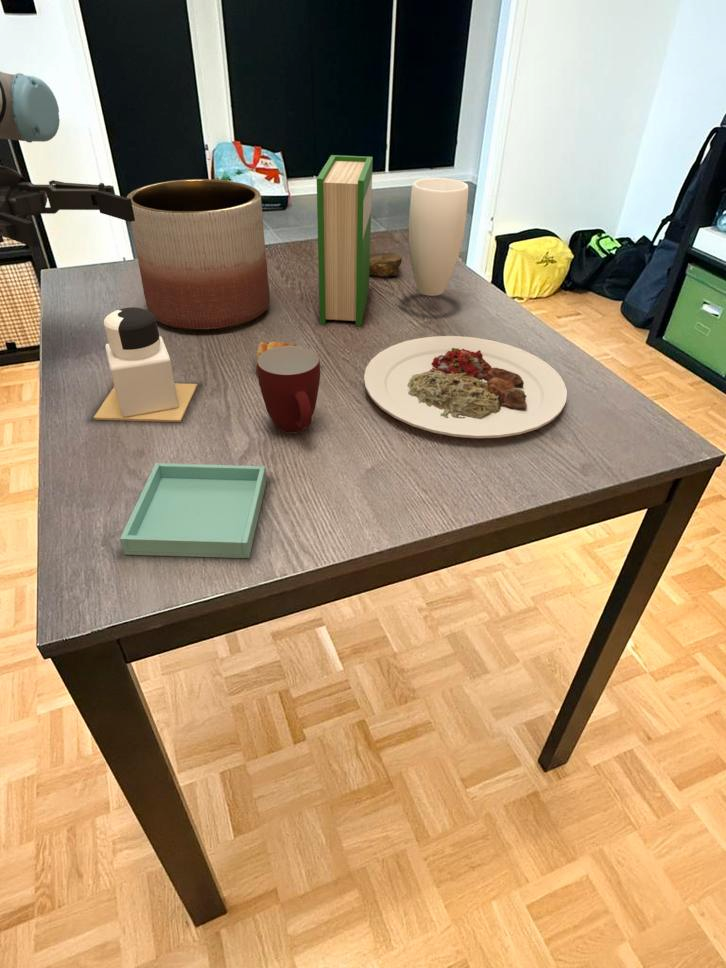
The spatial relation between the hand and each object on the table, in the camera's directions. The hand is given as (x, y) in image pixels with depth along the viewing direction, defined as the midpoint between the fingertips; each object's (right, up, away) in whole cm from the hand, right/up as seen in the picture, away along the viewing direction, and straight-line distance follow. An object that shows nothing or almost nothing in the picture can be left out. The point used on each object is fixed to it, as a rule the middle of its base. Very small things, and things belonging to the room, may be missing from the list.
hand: (85, 222), depth 77 cm
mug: (+25, -25, +8) cm, 36 cm away
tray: (+16, -36, -6) cm, 40 cm away
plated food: (+49, -18, +18) cm, 56 cm away
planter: (+6, 0, +39) cm, 39 cm away
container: (+3, -20, +13) cm, 24 cm away
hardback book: (+31, +2, +42) cm, 52 cm away
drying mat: (+3, -21, +13) cm, 24 cm away
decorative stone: (+37, +14, +57) cm, 70 cm away
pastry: (+22, -14, +22) cm, 34 cm away
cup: (+47, +2, +43) cm, 63 cm away
